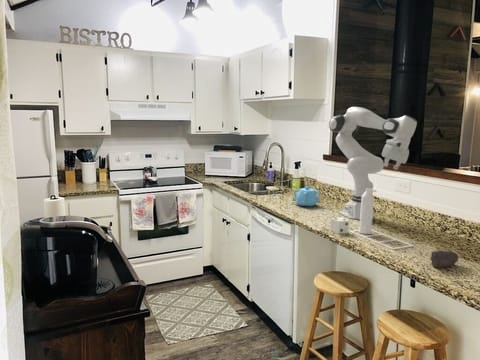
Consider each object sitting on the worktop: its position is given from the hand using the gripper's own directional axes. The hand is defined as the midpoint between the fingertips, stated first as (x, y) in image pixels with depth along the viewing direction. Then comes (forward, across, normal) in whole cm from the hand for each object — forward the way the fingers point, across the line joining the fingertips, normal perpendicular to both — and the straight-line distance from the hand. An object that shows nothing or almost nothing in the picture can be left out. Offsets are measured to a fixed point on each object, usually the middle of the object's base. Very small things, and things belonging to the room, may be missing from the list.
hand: (390, 167), depth 216 cm
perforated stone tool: (+31, +21, +56) cm, 68 cm away
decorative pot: (+46, -9, -57) cm, 74 cm away
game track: (+36, +12, +18) cm, 42 cm away
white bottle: (+38, +11, +9) cm, 40 cm away
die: (+42, +21, -1) cm, 47 cm away
